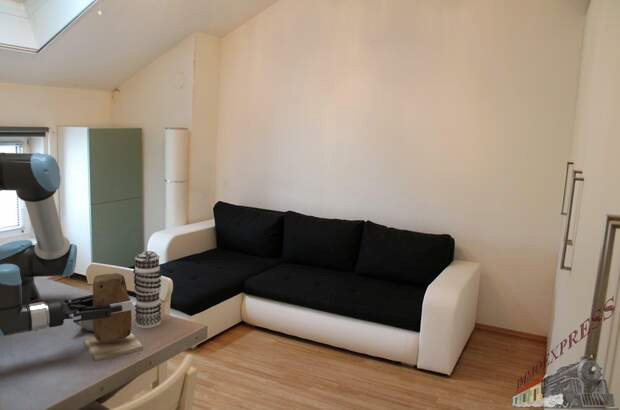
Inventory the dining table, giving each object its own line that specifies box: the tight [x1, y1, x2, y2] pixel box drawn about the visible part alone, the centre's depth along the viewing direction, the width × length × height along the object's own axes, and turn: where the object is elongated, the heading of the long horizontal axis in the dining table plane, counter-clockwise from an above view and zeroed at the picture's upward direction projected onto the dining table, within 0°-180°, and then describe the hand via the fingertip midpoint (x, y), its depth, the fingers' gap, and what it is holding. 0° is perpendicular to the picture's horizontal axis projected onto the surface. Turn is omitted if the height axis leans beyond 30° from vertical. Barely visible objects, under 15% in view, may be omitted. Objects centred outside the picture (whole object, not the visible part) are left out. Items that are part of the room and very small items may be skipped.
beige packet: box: [83, 332, 144, 362], centre depth 161 cm, size 14×14×1 cm
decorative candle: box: [132, 250, 163, 329], centre depth 177 cm, size 9×9×25 cm
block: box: [92, 272, 133, 342], centre depth 159 cm, size 11×8×20 cm
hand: (127, 300), depth 162 cm, fingers closed on block, 8 cm apart
